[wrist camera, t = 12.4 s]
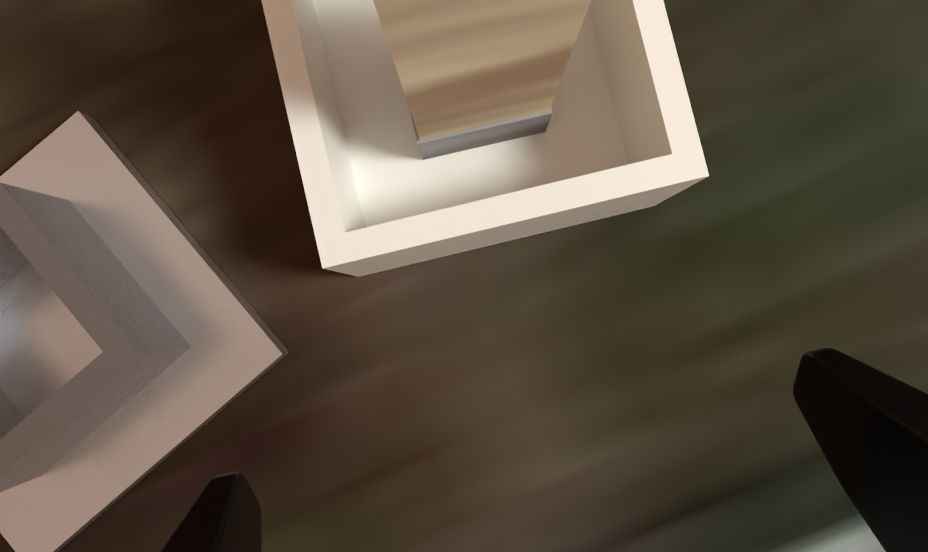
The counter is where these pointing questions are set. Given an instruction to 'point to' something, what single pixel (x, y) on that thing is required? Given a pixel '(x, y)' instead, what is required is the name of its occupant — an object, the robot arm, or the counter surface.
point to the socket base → (104, 335)
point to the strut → (479, 66)
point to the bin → (484, 168)
